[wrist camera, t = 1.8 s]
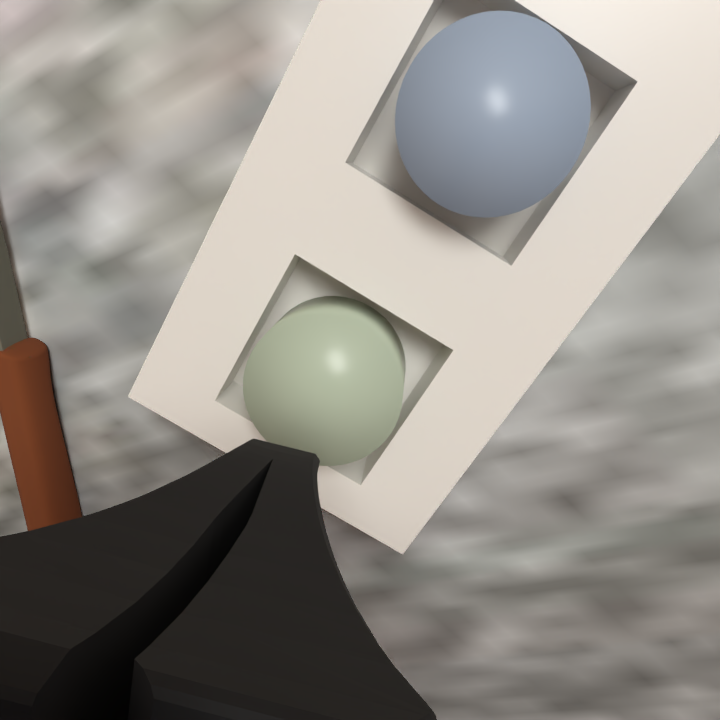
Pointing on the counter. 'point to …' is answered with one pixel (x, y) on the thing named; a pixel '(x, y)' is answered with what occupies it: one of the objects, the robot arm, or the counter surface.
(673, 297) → the counter surface
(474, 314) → the button panel
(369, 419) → the green button
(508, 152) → the blue button
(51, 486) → the kitchen knife
